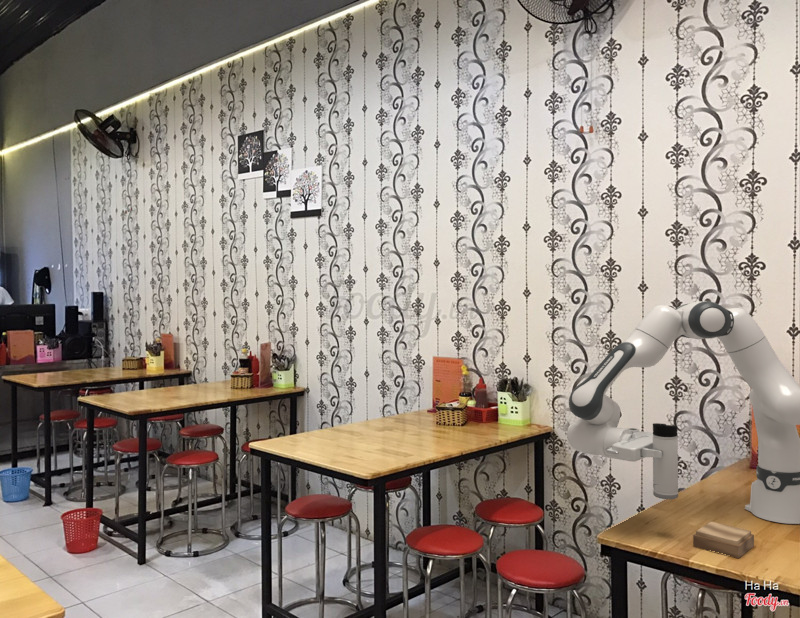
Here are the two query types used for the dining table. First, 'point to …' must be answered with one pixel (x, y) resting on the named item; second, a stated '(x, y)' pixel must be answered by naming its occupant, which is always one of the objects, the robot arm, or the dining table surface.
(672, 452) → the travel mug
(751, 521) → the dining table surface
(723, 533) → the plinth
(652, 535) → the dining table surface
